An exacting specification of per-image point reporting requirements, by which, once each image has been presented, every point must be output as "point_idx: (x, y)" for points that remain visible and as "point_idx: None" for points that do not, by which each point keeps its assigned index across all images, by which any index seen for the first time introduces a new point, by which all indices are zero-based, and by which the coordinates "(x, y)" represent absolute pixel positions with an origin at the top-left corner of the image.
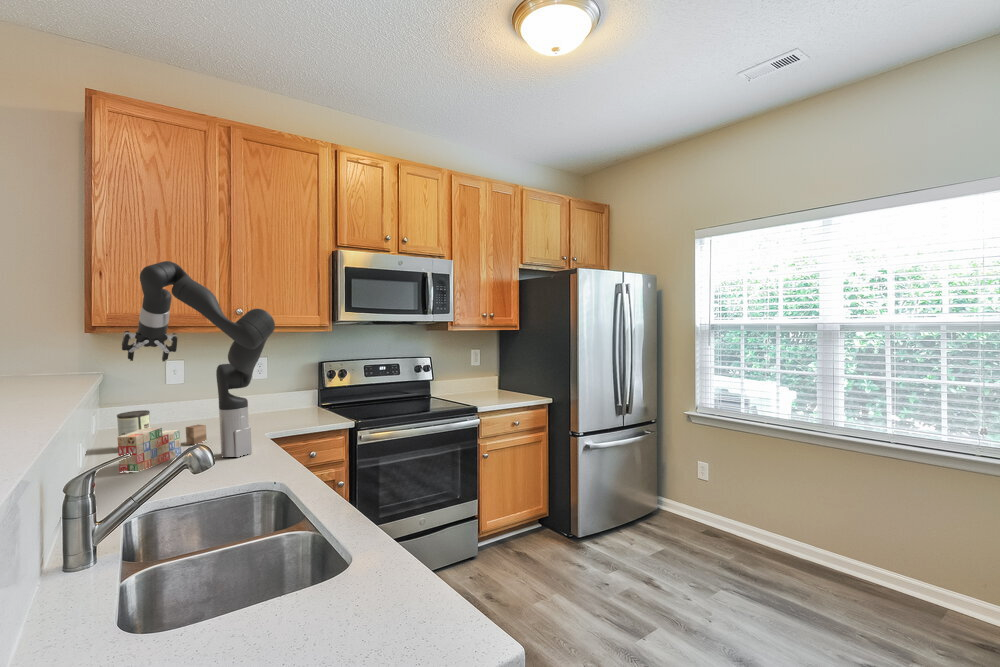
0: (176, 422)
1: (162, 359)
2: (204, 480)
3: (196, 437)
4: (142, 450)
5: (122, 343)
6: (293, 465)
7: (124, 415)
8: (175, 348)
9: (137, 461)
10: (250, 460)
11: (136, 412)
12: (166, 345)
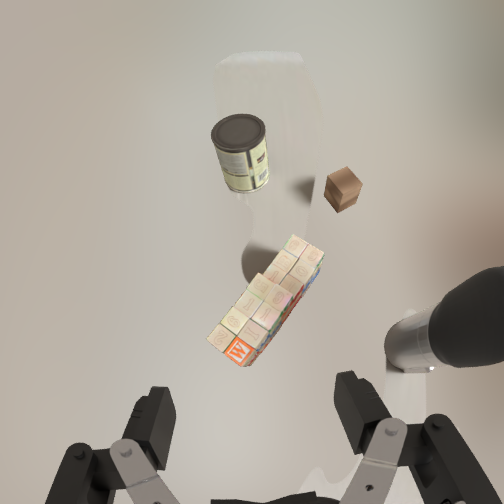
0: (294, 65)
1: (337, 397)
2: (342, 483)
3: (343, 203)
4: (255, 353)
5: (68, 468)
6: None
7: (222, 145)
8: (431, 470)
9: (248, 365)
10: (420, 401)
11: (243, 126)
12: (393, 458)
